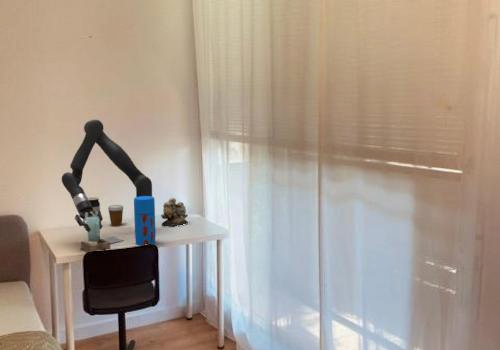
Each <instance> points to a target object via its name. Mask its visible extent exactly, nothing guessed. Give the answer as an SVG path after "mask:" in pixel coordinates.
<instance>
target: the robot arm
mask: <svg viewBox="0 0 500 350" xmlns="http://www.w3.org/2000/svg"><path fill="white" fill-rule="evenodd" d="M83 130H84V131H83V132H84V133H85V135H84V138H83V140H82V141H81V144H80V146H79V148H78V149H77V151H76V152H75V154H74V156H73V159H72V160H71V163H70V165H69V166H70V169H71V170H72V172H68V171H67V172H65V173H63V174H62V176H61V182H62V185H63V186H64V188H65V189H66V191H67V192H68V193H69V195H70V197H71V199H72V203H73V205H74V208H75V209H76V211H77V213H78V214H75V216H74V219H75V221H76V223H77V224H78V225H79V227H84V230H85V231H86V232H87V233H88V232H89V231H90V228H89V226H88V224H87V217H91V216H98V217H99V225H100V230H102V228H103V224H102V221H103V215H102V211H101V210H100V211H98V212H95V211H94V210H93V208H92V205H91V203H90V201H89V199H88V198H89V197H88V196H87V194H86V193H85V191H84V188H83V187H82V186H81V185H80V184H81V183H82V179H83V174H84V168H85V166H86V164H87V162H88V159H89V158H90V155H91V152H92V150H93V149H94V146H95V144H97V145H98V146H99V148H100V149H101V150H102V151H103V153H104V154H105V155H106V156H107V157H108V159H109V160H110V161H111V162H112V163H113V164H114V166H116V167H117V168H118V169H119V170H120V171H121V172H122V173H123V174H125V175H126V176H127V177H128V178H129V181H130V182H131V183H132V184H133V186H134V187H135V192H136V193H135V194H136V195H135V197H140V196H152V197H153V182H152V180H151V179H150V178H149V177H148V176H146V175H145V174H144V173H143V172H141V170H140V169H139V168H138V167H137V165H136V164H135V163H134V161H133V160H132V159H131V157H130V156H129V155H128V153H127V152H126V151H125V150H124V149H123V148H122V146H120V145H119V144H118V143H117V142H115V141H114V140H112V139H111V138H110V137H109V136H108V135H107V134H106V133H105V131H104V124H103V123H102V121H100V120H98V119H90V120H89V121H87V122H85V124H84V127H83ZM95 214H96V215H95Z"/></svg>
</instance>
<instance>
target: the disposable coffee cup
mask: <svg viewBox="0 0 500 350" xmlns="http://www.w3.org/2000/svg"><path fill="white" fill-rule="evenodd" d="M107 210H108V214H109V220H110V221H109V222H110V225H111V227H120V226H122V224H123V213H124V206H123V205H121V204H113V205H109V206H108V207H107Z"/></svg>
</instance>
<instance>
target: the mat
mask: <svg viewBox="0 0 500 350" xmlns="http://www.w3.org/2000/svg"><path fill="white" fill-rule="evenodd" d="M102 239H103V240H106V241H108V242H110V245H113V244H116V243H122V242H125V241H124V239H122V238H121V239H120V238H119V237H116V236H110V237H104V238H102ZM95 243H97V241H95Z"/></svg>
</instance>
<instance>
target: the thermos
mask: <svg viewBox="0 0 500 350" xmlns="http://www.w3.org/2000/svg"><path fill="white" fill-rule="evenodd" d="M155 205H156V204H155V197H154V196H153V195H152V196H140V197H136V196H135V197H134V198H133V212H134V214H133V215H134V216H133V217H134V238H135V244H136V245H137V246H140V245H145V244H152V245H154V244H155V243H156V236H157V235H156V215H155V214H156V212H155V210H156V207H155ZM153 243H154V244H153Z"/></svg>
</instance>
